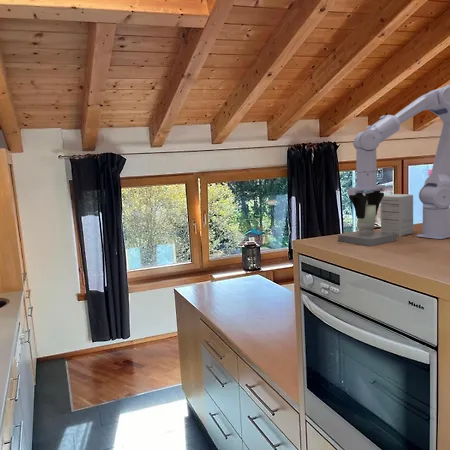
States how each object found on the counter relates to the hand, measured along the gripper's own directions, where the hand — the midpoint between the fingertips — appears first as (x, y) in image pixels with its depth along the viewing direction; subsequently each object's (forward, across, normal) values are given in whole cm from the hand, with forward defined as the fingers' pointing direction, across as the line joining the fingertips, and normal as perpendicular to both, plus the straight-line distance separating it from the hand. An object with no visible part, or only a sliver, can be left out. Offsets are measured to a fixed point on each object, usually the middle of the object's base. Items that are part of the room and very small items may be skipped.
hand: (366, 217), depth 130 cm
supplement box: (+8, -16, -1) cm, 18 cm away
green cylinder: (+1, 0, 0) cm, 1 cm away
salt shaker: (+7, -13, -11) cm, 19 cm away
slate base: (+7, 0, 0) cm, 7 cm away
